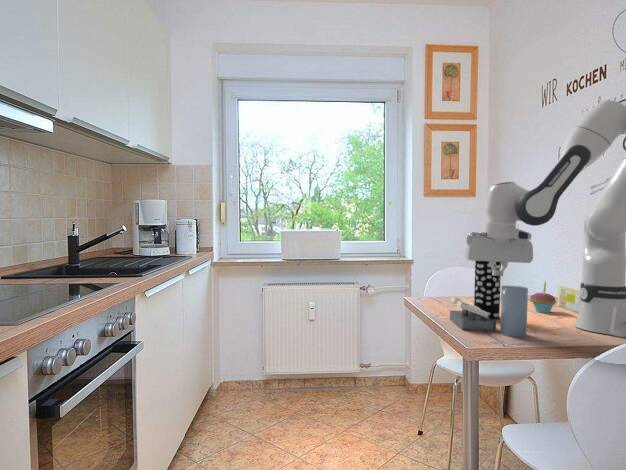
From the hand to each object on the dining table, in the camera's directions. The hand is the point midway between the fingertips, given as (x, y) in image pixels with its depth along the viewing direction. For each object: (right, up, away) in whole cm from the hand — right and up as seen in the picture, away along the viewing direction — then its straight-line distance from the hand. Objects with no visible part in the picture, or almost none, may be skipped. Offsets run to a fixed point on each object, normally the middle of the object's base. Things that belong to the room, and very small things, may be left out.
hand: (497, 275), depth 133 cm
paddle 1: (-9, -10, +4) cm, 14 cm away
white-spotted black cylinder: (+1, -16, +12) cm, 20 cm away
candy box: (+40, -16, +26) cm, 50 cm away
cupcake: (+27, -16, +22) cm, 38 cm away
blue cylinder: (0, -17, -10) cm, 19 cm away
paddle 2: (-9, -10, -3) cm, 14 cm away
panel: (-8, -16, 0) cm, 18 cm away
